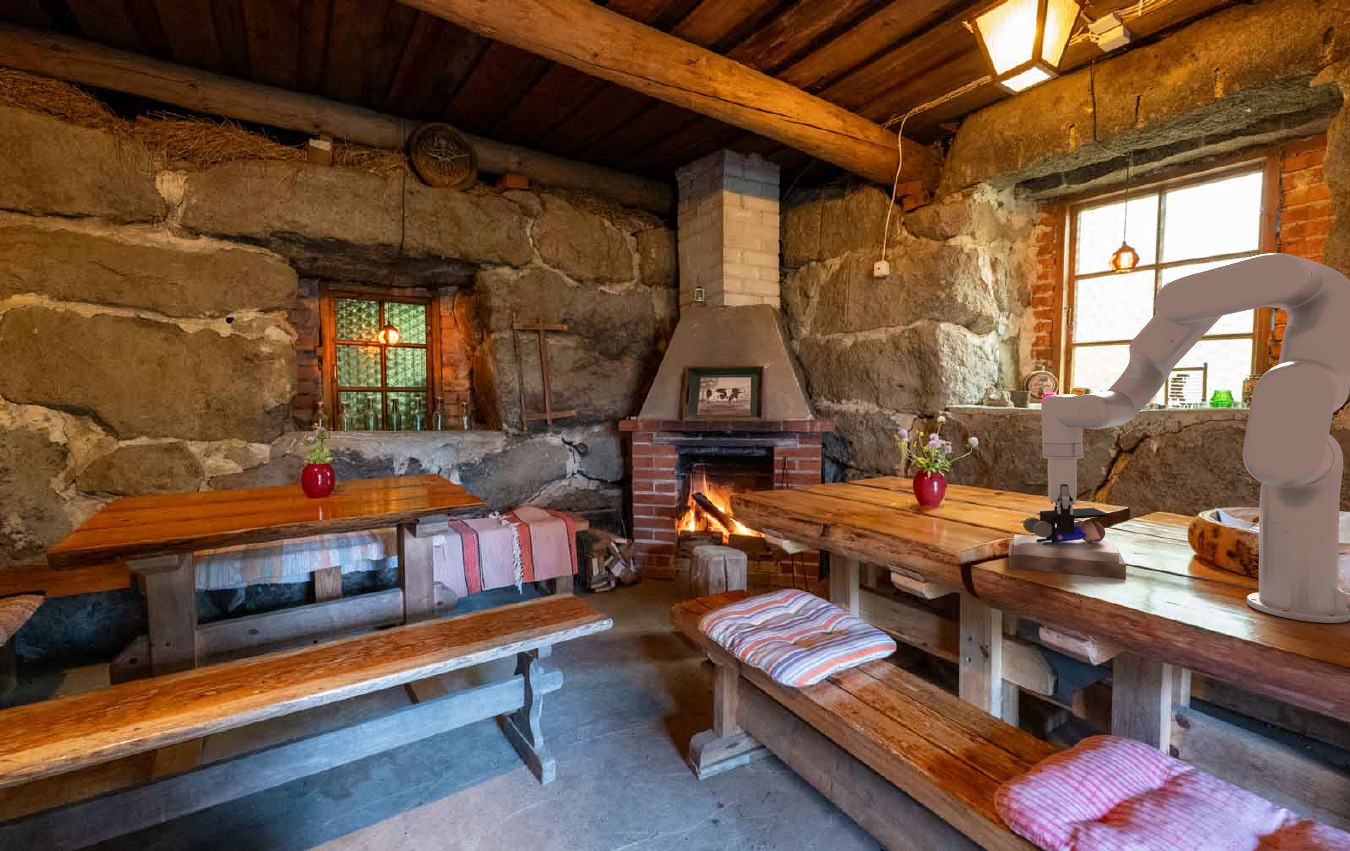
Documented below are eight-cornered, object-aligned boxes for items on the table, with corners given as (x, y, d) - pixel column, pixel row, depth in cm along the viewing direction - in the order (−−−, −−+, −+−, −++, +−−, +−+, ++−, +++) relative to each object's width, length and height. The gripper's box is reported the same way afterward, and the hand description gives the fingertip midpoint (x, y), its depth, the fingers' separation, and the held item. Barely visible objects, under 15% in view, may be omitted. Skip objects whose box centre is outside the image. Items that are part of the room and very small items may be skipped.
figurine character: (1039, 553, 133) (1114, 545, 131) (1034, 519, 133) (1109, 509, 131) (1025, 546, 140) (1096, 537, 138) (1020, 513, 140) (1091, 504, 138)
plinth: (1117, 562, 137) (1117, 540, 136) (1126, 578, 125) (1125, 554, 125) (1010, 553, 147) (1009, 533, 147) (1008, 568, 136) (1008, 546, 135)
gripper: (1041, 447, 144) (1043, 519, 145) (1043, 455, 129) (1045, 535, 130) (1079, 447, 140) (1081, 521, 141) (1086, 455, 125) (1088, 538, 126)
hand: (1064, 528), depth 135 cm, fingers open, 9 cm apart
